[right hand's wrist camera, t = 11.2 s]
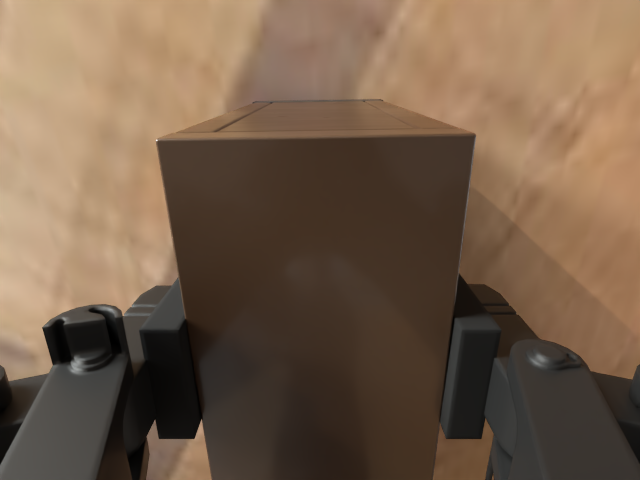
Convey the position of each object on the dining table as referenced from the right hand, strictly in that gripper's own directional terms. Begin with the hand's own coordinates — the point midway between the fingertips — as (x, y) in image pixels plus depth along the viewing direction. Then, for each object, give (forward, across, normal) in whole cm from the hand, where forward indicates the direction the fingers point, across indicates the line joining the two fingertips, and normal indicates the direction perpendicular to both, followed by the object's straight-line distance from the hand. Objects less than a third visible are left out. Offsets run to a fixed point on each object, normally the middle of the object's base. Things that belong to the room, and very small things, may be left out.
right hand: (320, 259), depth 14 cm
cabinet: (+6, 0, -3) cm, 6 cm away
